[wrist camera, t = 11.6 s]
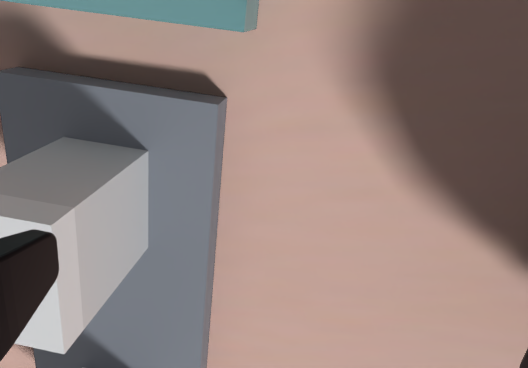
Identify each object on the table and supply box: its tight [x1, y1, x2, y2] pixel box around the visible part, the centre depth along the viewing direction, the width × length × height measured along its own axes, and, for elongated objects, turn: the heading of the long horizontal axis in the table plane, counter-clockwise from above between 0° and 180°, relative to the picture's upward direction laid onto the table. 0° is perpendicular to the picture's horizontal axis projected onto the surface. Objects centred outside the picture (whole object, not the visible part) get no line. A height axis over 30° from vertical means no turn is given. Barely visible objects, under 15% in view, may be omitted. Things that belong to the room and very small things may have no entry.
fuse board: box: [0, 67, 227, 368], centre depth 23 cm, size 10×24×2 cm, turn 173°
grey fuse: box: [0, 137, 148, 354], centre depth 17 cm, size 4×5×7 cm
